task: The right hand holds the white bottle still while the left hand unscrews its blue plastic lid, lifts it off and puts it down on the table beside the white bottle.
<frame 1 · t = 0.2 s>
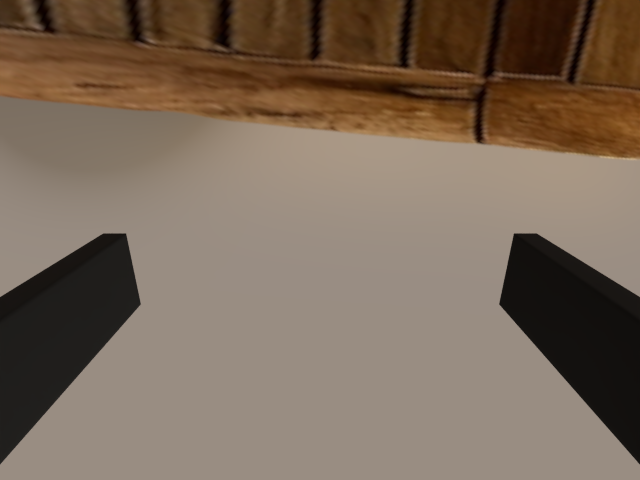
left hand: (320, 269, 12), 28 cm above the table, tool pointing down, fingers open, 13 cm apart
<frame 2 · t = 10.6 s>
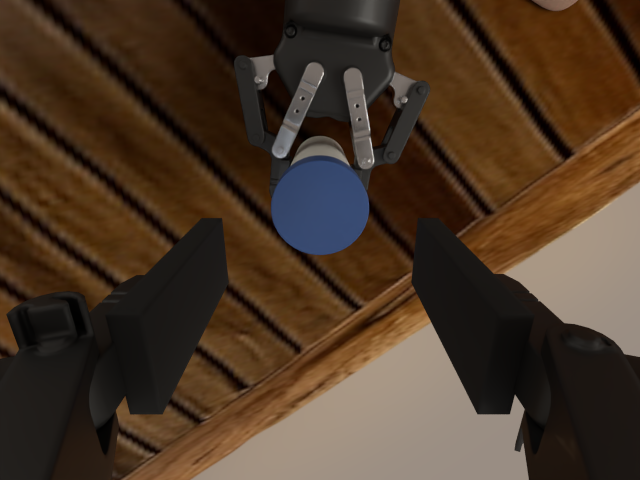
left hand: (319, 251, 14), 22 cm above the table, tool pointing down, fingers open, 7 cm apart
right hand: (316, 207, 29), fingers closed on white bottle, 4 cm apart
white bottle: (320, 161, 34), on the table, touching right hand
lid: (320, 208, 20), point 16 cm above the table, screwed on, not yet turned
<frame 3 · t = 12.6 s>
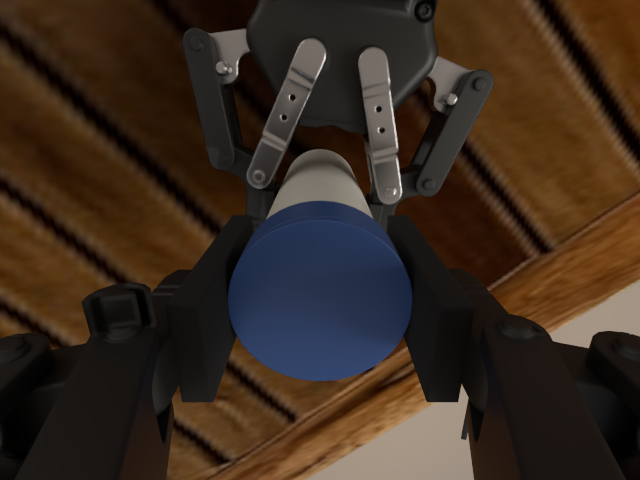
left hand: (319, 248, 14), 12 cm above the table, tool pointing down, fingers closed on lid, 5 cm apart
right hand: (314, 255, 20), fingers closed on white bottle, 4 cm apart
white bottle: (319, 184, 25), on the table, touching right hand
lid: (320, 301, 10), point 16 cm above the table, screwed on, not yet turned, touching left hand
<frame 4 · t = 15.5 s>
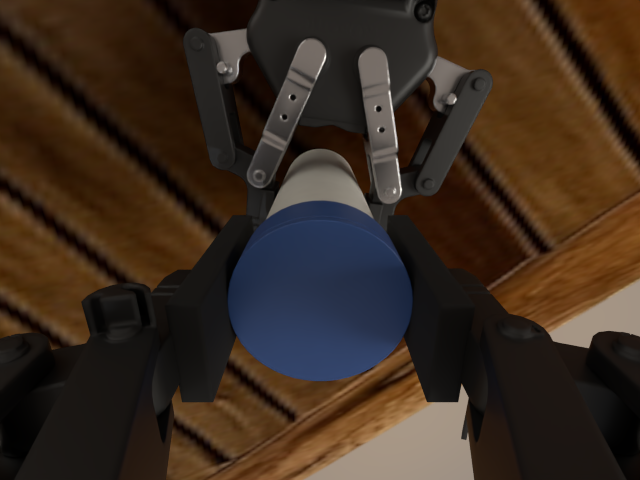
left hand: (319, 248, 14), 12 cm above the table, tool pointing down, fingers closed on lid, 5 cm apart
right hand: (314, 255, 20), fingers closed on white bottle, 4 cm apart
white bottle: (320, 183, 25), on the table, touching right hand
lid: (320, 301, 10), point 16 cm above the table, turned 81° so far, risen 0.1 cm, still on its thread, touching left hand
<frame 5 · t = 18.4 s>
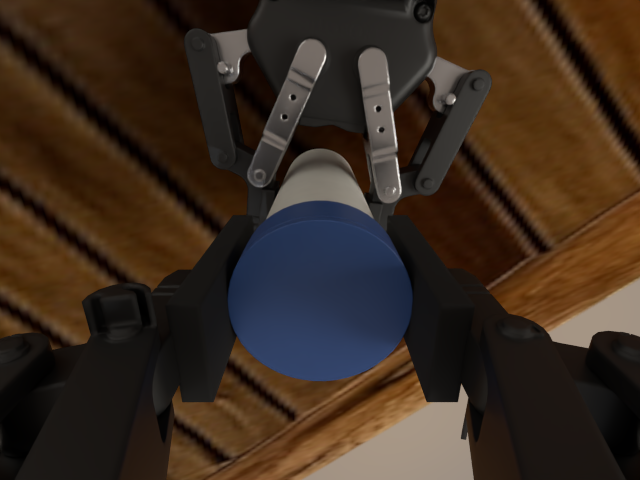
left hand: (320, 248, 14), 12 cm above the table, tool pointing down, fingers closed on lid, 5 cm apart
right hand: (314, 254, 20), fingers closed on white bottle, 4 cm apart
white bottle: (320, 183, 25), on the table, touching right hand
lid: (320, 301, 10), point 16 cm above the table, turned 162° so far, risen 0.2 cm, still on its thread, touching left hand
when the left hand's fingers open (0 cm above the table, at t = 34.2 s): lid drops 3 cm, point 2 cm above the table.
when the right hand's fingers open (7 cm above the table, at t = 34.8 s): white bottle stays where it is, on the table.
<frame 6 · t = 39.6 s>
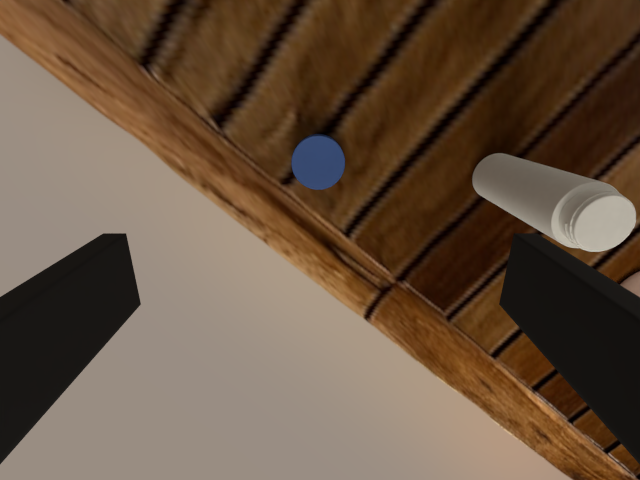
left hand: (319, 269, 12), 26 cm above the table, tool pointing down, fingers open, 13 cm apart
white bottle: (495, 176, 38), on the table
lid: (318, 162, 36), point 2 cm above the table, off its thread
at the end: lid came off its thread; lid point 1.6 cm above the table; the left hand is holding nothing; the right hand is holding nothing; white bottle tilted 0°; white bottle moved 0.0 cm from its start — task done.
